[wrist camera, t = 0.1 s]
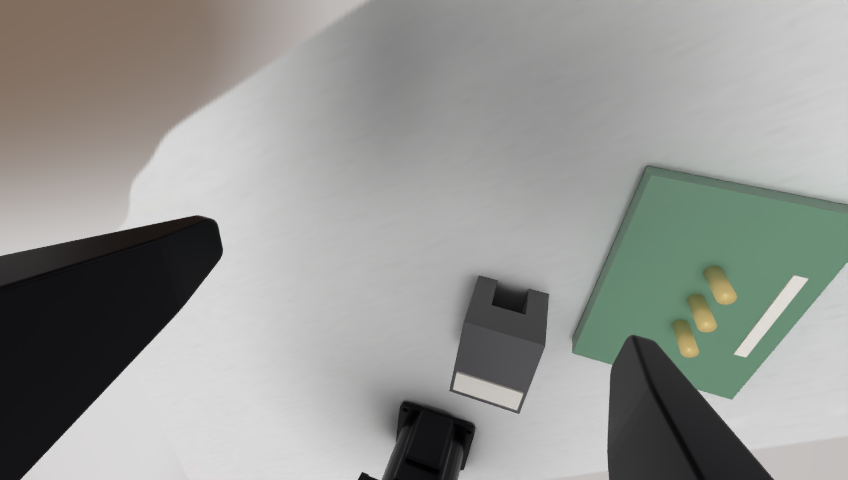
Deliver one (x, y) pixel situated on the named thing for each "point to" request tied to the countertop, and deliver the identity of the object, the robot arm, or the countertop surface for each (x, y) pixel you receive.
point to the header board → (712, 275)
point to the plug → (499, 348)
